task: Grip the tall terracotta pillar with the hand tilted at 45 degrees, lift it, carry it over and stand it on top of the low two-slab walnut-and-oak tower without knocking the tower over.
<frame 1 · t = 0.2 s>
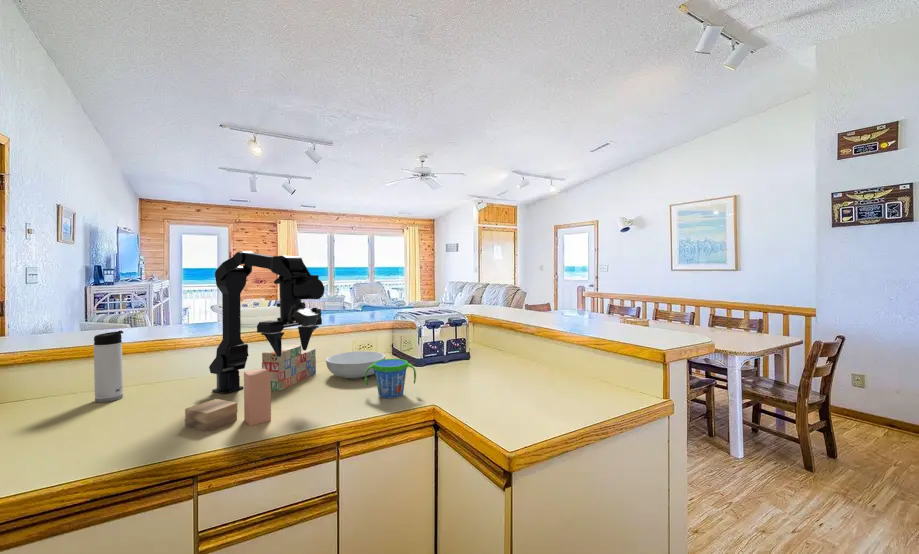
hand: (292, 353, 115), 14 cm above the table, tool pointing down, fingers open, 9 cm apart
tower top: (211, 415, 101), point 2 cm above the table, touching tower base
stack of blocks: (291, 381, 138), on the table
pillar: (257, 420, 103), on the table
travel mug: (109, 399, 119), on the table
tower base: (211, 425, 101), on the table, touching tower top
serving bowl: (356, 376, 145), on the table
snack cup: (390, 395, 123), on the table
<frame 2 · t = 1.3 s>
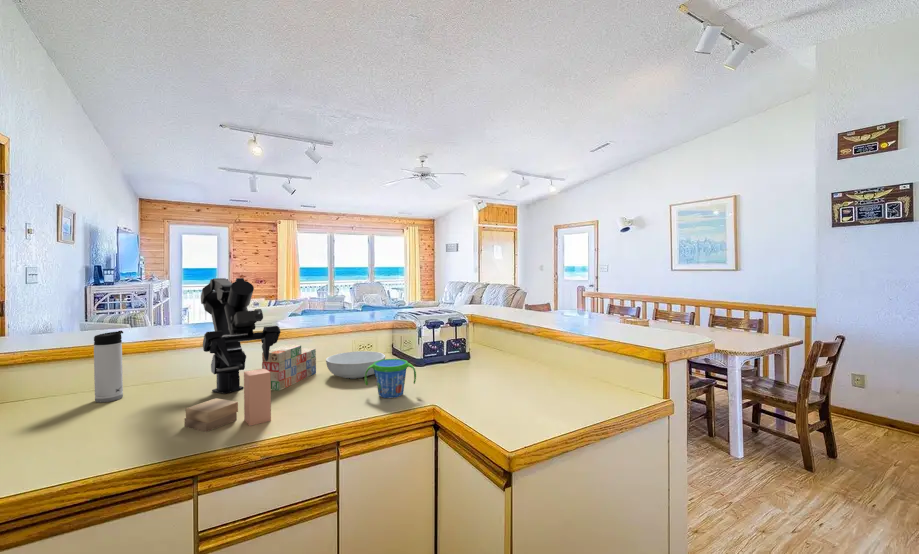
hand: (249, 362, 108), 13 cm above the table, tool tilted 45°, fingers open, 9 cm apart
tower top: (212, 414, 101), point 2 cm above the table
tower base: (211, 425, 101), on the table
everything else where it was.
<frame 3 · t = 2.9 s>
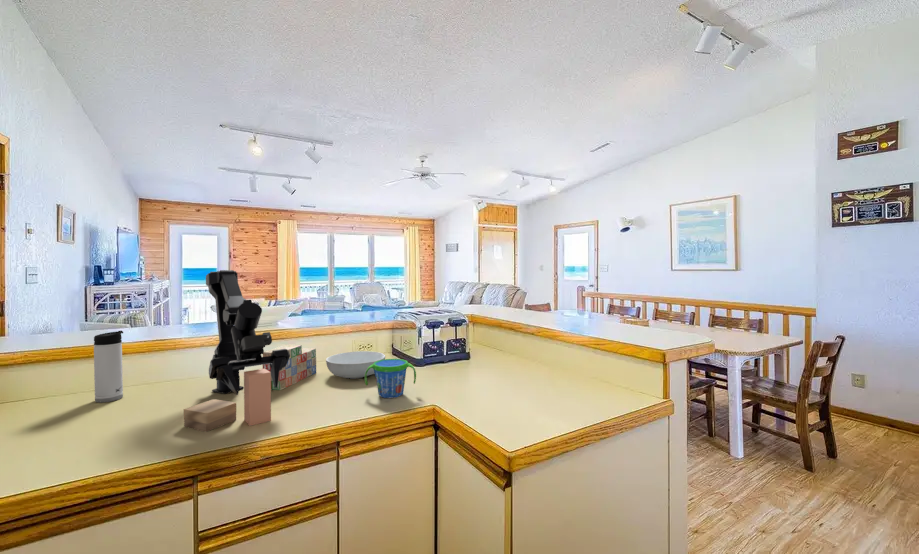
hand: (257, 390, 102), 8 cm above the table, tool tilted 45°, fingers open, 9 cm apart
tower top: (210, 415, 100), point 2 cm above the table, touching tower base
tower base: (210, 425, 101), on the table, touching tower top
everything else where it was.
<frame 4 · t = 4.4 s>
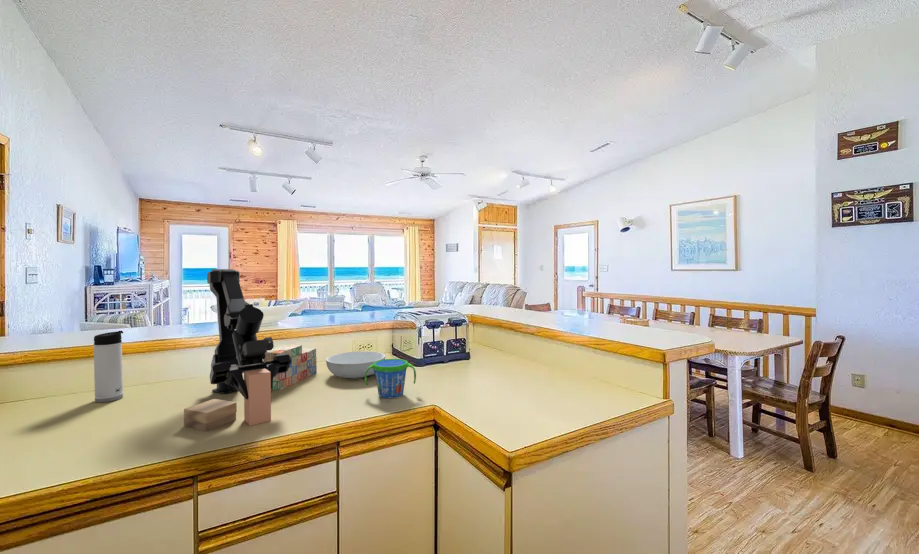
hand: (259, 396, 101), 7 cm above the table, tool tilted 45°, fingers closed on pillar, 5 cm apart
pillar: (257, 420, 103), on the table, touching gripper
everything else where it was.
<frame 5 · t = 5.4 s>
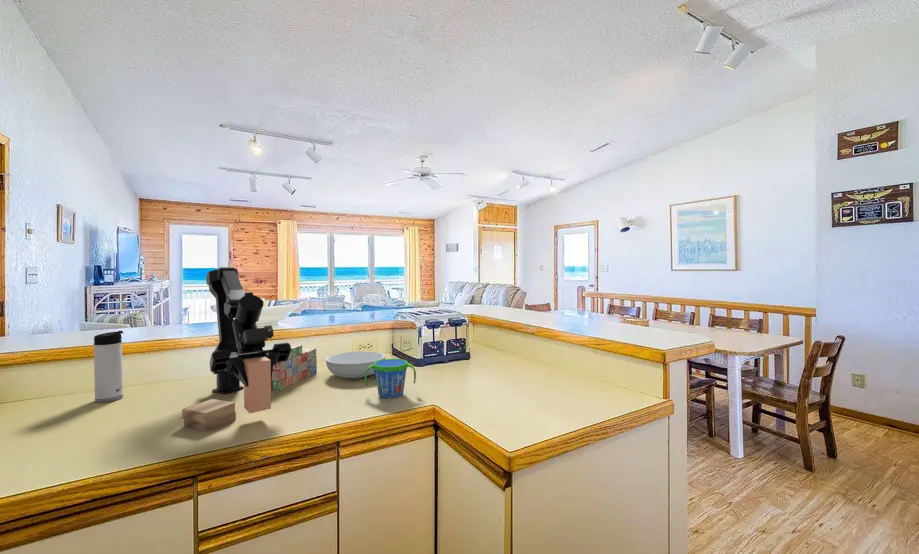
hand: (258, 383, 101), 10 cm above the table, tool tilted 45°, fingers closed on pillar, 5 cm apart
tower top: (209, 415, 100), point 2 cm above the table
pillar: (257, 408, 102), point 3 cm above the table, touching gripper
tower base: (210, 424, 101), on the table
everything else where it was.
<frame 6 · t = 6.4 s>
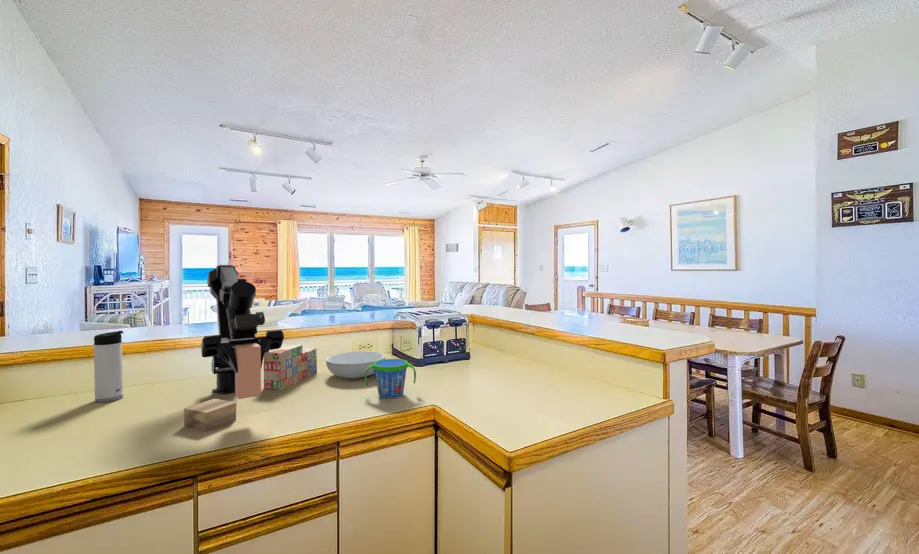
hand: (248, 370, 101), 13 cm above the table, tool tilted 45°, fingers closed on pillar, 5 cm apart
tower top: (210, 415, 101), point 2 cm above the table, touching tower base
pillar: (248, 394, 102), point 7 cm above the table, touching gripper
tower base: (210, 424, 101), on the table, touching tower top
everything else where it was.
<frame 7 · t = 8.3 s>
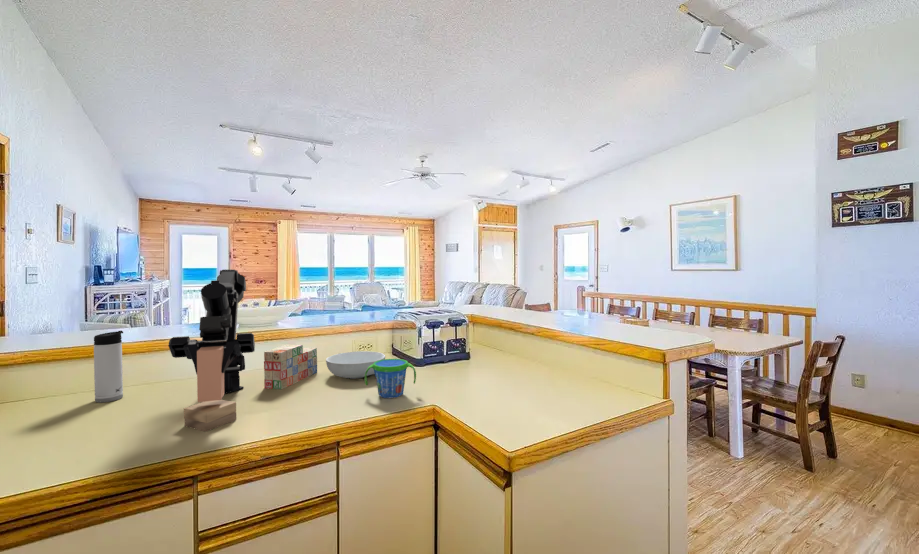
hand: (210, 373, 99), 13 cm above the table, tool tilted 45°, fingers closed on pillar, 5 cm apart
tower top: (210, 415, 101), point 2 cm above the table
pillar: (211, 397, 101), point 6 cm above the table, touching gripper
tower base: (211, 424, 101), on the table
when the fingers open (13 cm above the table, at t = 8.7 s): pillar drops 2 cm, resting on tower top.
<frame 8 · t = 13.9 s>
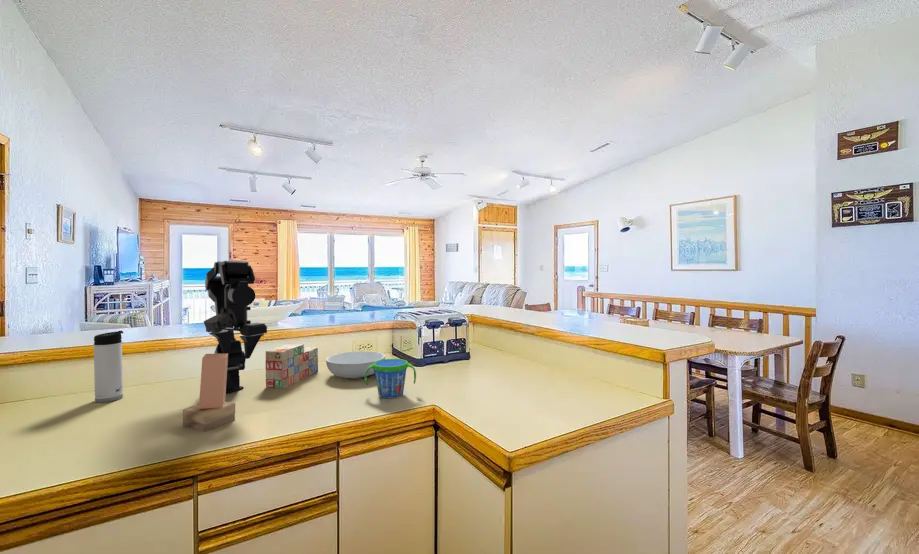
hand: (236, 357, 117), 13 cm above the table, tool pointing down, fingers open, 9 cm apart
tower top: (209, 416, 100), point 2 cm above the table, touching pillar, tower base
pillar: (212, 404, 101), point 4 cm above the table, touching tower top
tower base: (209, 425, 101), on the table, touching tower top
at the end: pillar 0.5 cm off-centre on the tower top, point 2.6 cm above the tower top's base; pillar tilted 2°; tower top 0.3 cm off-centre on the tower base, point 2.5 cm above the tower base's base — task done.
